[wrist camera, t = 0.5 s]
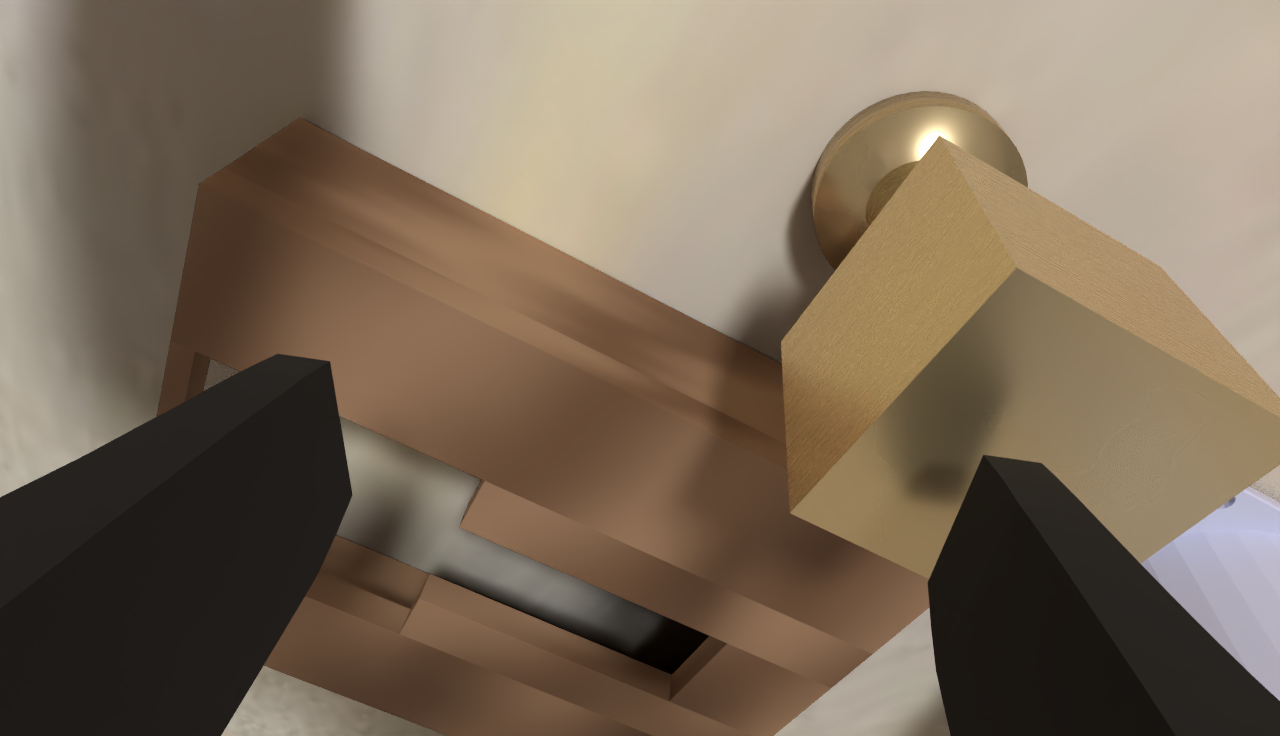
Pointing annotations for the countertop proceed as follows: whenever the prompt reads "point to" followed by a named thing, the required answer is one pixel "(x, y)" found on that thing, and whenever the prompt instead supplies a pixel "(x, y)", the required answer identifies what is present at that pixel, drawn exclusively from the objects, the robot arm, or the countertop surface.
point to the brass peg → (997, 350)
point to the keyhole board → (527, 459)
